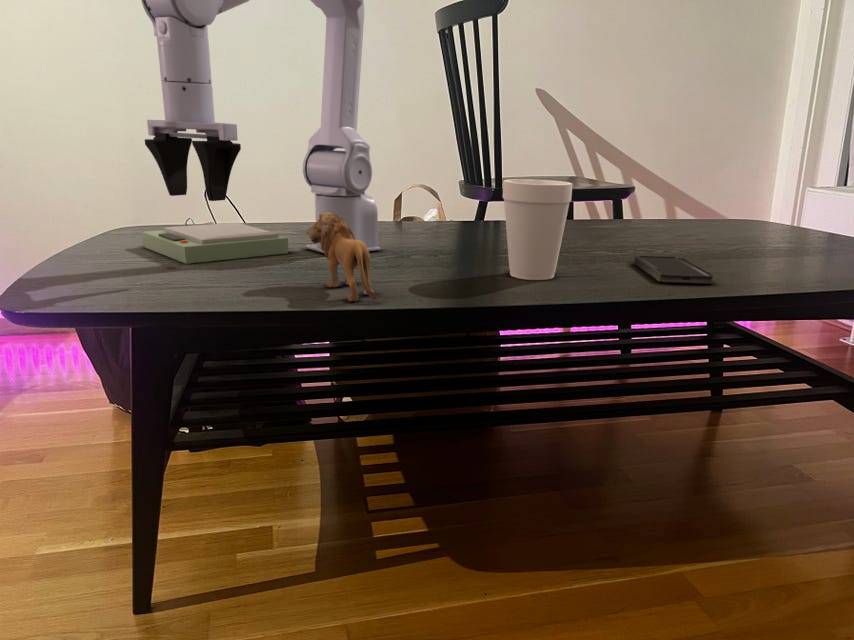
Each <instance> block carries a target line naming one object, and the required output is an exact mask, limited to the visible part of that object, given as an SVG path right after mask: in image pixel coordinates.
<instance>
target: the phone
mask: <svg viewBox="0 0 854 640" xmlns="http://www.w3.org/2000/svg"><path fill="white" fill-rule="evenodd" d="M633 263H634V265H635V266H637V267H638V268H640V269H641V271H644V272H645V273H646V274H648V275H649V276H651V278H653V279H654V280H656V281H657V282H660V283H665V284H698V285H701V284H702V285H710V284H712V283H713V279H714V278H713V277H714V275H713V274H712V273H710V272H708V271H707V270H705V269H704V268H701V267H699V266H697V265H696V264H694V263H692V262H690V261H689V260H687V259H685V258H684V257H679V256H661V255H660V256H656V255H636V256H634V262H633Z"/></svg>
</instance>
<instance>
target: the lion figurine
mask: <svg viewBox="0 0 854 640" xmlns="http://www.w3.org/2000/svg"><path fill="white" fill-rule="evenodd" d="M319 218H320V219H319V221H318V222H316V221H315V223H314V225H313V226H312V227H309V228H308V229H307V230H306V232H305V233H306V234H307V236H308V238H309V239H310V242H311V245H314V244H316V243H320V244H321V250H323V251H324V252H325V253H324V256H325V258H326V259H327V260H328V262H327V263H328V270H329V273H330V278H331V281H329V282H327V284H326V287H327V288H337V287H339V284H340V279H339V275H338V267H339V265H341V266H343V274H344V277H345V279H344V280H345V285H348V286H349V289H350V295H348V297H347V300H348V301H349V302H355V301H358V300H359V292H358V286H357V283H356V280H355V269H356V268H358V274H359V279H360V281H361V285H362V287H363V289H364V290H363V294H364V295H366V296H367V295H368V297H369V298H370V300H371V299H372V300H379V296H378V295H377V294H376V293H375V292H374V290H373V289H372V283H371V255H370V251H368V249H367V247H366V244H365V243H364V242H363V241H360V240H355V238H354V234H353V233H352V231H351V229H350V227H349V226H348V225H347V224H346V222H345V221H343V219H342V218H339V217H338V216H337V215H335V214H333V213H329V212H326V213H321V214H320V215H319Z"/></svg>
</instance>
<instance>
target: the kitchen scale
mask: <svg viewBox="0 0 854 640" xmlns="http://www.w3.org/2000/svg"><path fill="white" fill-rule="evenodd" d="M142 241H143V248H145V249H148V250H150V251H153V252H155V253H158V254H160V255H163V256H166V257H168V258H171V259H173V260H175V261H178V262H180V263H183V264H186V265H188V264H189V265H190V264H197V263H198V264H200V263H206V262H207V263H208V262H217V261H226V260H235V259H236V260H237V259H245V258H246V259H247V258H256V257H267V256H275V255H285V254H289V238H288V237H286V236H281V235H279V233H278V232H274V231H269V230H267V229H262V228H259V227H255V226H251V225H247V224H244V223H240V222H225V223H223V222H222V223H207V224H194V225H181V226H180V225H178V226H167V227H165V226H164V227H163V230H162V229H161V230H150V231H142Z"/></svg>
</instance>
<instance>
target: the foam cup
mask: <svg viewBox="0 0 854 640" xmlns="http://www.w3.org/2000/svg"><path fill="white" fill-rule="evenodd" d="M502 181H503V182H502V199H503V205H504V216H505V217H504V218H505V231H506V243H507V255H508V269H509V275H510V276H511V277H513V278H515V279H520V280H529V281H545V280H551V279H553V278H554V277H555V274H556V270H557V265H558V260H559V255H560V252H561V251H560V250H561V245H562V242H563V241H562V240H563V236H564V231H565V226H566V221H567V216H568V212H569V207H570V203H571V202H572V196H573V183H572V182H569V181H561V180H549V179H531V178H513V179H511V178H510V179H504V180H502Z"/></svg>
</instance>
